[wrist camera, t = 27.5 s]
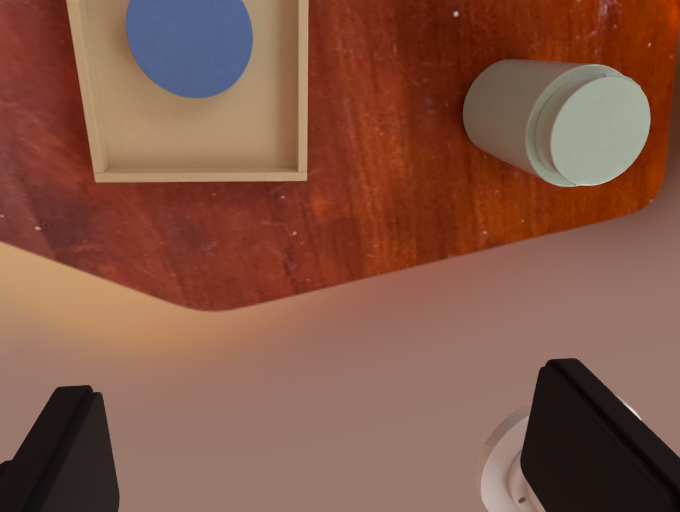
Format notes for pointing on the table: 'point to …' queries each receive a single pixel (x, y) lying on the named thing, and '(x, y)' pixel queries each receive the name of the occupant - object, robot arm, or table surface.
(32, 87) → the table surface
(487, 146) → the jam jar
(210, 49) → the lid
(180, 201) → the table surface
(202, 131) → the tray
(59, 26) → the table surface
